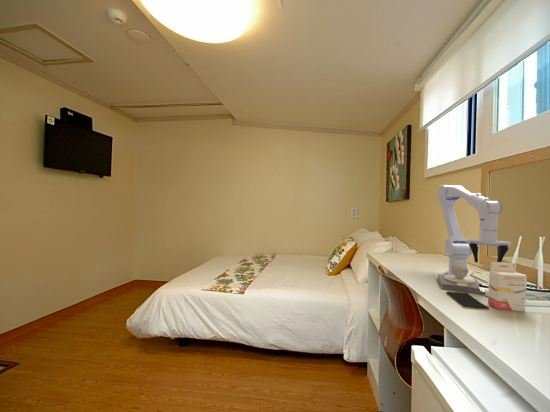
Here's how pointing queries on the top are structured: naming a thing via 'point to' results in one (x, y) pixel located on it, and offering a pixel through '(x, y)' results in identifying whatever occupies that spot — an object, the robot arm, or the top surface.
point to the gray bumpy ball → (459, 269)
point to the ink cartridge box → (506, 287)
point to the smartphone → (467, 301)
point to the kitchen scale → (459, 284)
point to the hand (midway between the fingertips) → (487, 263)
